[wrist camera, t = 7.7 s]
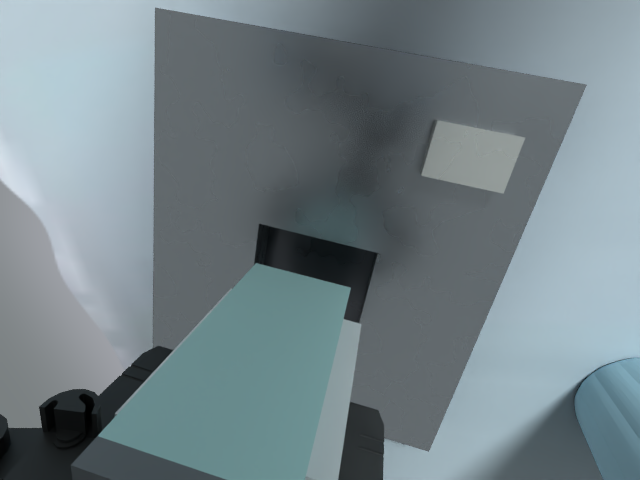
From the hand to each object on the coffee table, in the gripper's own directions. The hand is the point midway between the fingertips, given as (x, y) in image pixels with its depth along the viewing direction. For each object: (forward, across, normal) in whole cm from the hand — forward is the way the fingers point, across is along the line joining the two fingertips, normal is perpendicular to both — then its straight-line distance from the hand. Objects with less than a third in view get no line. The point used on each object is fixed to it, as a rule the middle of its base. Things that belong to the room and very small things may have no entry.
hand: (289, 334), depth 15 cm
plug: (+1, 0, 0) cm, 1 cm away
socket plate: (+5, 0, +2) cm, 5 cm away
